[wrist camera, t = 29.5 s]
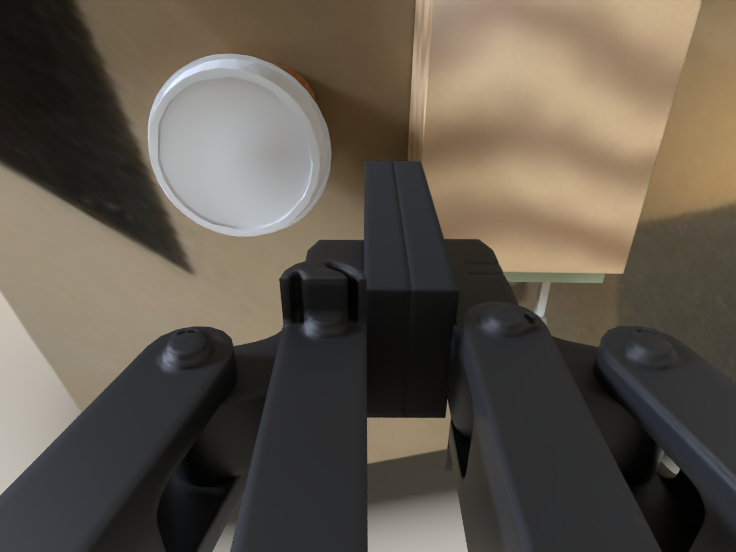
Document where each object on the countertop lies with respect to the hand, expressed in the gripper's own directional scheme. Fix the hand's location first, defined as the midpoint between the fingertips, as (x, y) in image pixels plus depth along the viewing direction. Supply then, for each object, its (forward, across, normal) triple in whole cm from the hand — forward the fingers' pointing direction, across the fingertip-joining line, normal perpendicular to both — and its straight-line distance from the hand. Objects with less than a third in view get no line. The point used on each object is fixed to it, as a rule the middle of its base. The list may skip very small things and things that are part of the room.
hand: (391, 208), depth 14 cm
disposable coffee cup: (+24, -7, -3) cm, 25 cm away
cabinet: (+24, +9, -3) cm, 26 cm away
